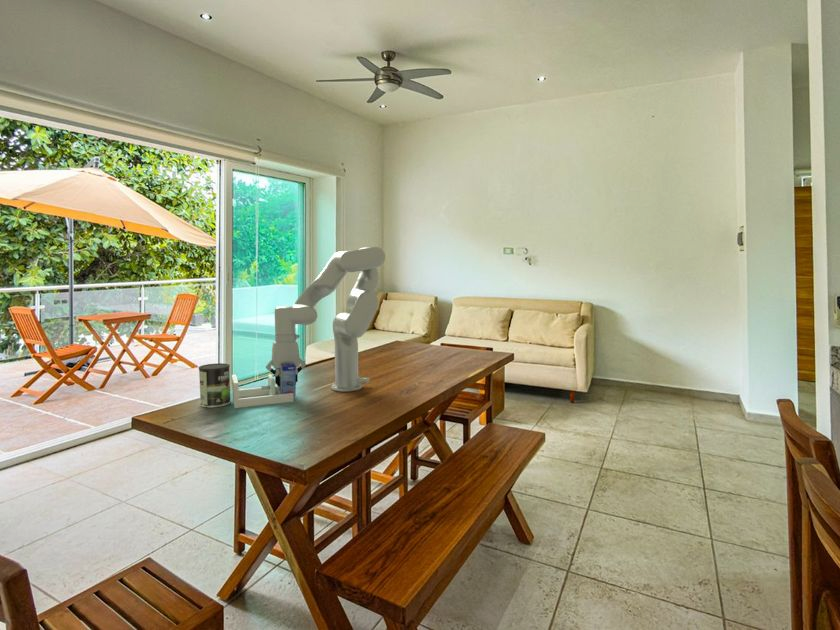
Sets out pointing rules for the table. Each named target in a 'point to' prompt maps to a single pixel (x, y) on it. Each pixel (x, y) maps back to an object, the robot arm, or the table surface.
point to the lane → (251, 392)
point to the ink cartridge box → (287, 379)
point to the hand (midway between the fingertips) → (286, 384)
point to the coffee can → (214, 385)
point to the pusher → (270, 385)
